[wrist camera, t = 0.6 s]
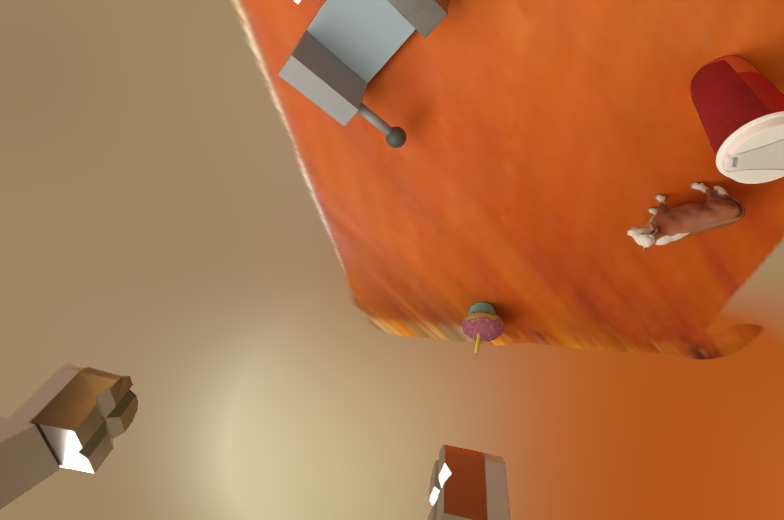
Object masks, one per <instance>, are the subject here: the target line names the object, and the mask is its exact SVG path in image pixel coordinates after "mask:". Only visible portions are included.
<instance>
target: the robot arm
mask: <svg viewBox="0 0 784 520" xmlns="http://www.w3.org/2000/svg"><path fill="white" fill-rule="evenodd" d="M132 385H133V384H132V381H131V378H130V376H126V375H121V374H116V373H112V372H108V371H102V370H98V369H94V368H90V367H87V366H81V365H77V364H72V363H67V364H65V365H63V366H61V367H60V368H59V369H57V370H56V371H55V372H54V373H53V374H52V375H51V376H50V377H49V378H48V379H47V380H46V381H45V382H44V383H43V384H42V385H41V386H40V387H39V388H38V389H37V390H36V391H35V392H34V393H33V394H32V395H31V396H30V397H29V398H28V399H27V400H26V401H25V402H24V403H23V404H22V405H20V406H19V408H17V409H16V410H15V411H14V412H13V413H12V414H11V415H10V416H9V417H8V418H6V417H0V509H1V508H3V507H4V506H6V505H7V504H9V503H10V502H12V501H13V500H15V499H16V498H18V497H19V496H21V495H22V494H24V493H25V492H27V491H28V490H30V489H31V488H33V487H34V486H36V485H37V484H39V483H40V482H41V481H43V480H45V479H46V478H48V477H49V476H51V475H52V474H54V473H55V472H57V471H58V470H59V469H60V467H64V468H69V469H74V470H80V471H86V472H90V473H95V472H96V471H97V469H98V468H99V467H100V465H101V464H102V462H103V461H104V460H105V459H106V457H107V456H108V454H109V453H110V452H111V450H112V449H113V438H115V437H117V436H119V435H120V434H122V433H124V432H125V431H126V430H127V428H128V427H129V426H130V424H131V422H132V421H133V419H134V416H135V414H136V412H137V407H138V400H137V396H136V395H135V394H134V393H133V392H132V391H131V390H130V388H131V386H132ZM429 500H430V502H431V504H432V506H433V507H432V509H431V512H430V514H429V517H428V520H510V510H509V500H508V490H507V479H506V469H505V462H504V460H503V458H502V457H500V456H495V455H491V454H486V453H482V452H478V451H473V450H468V449H463V448H458V447H453V446H448V445H443V446H442V447H441V450H440V455H439V460H437V461H436V462H435V464H434V467H433V471H432V475H431V481H430V490H429Z"/></svg>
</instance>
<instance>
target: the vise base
mask: <svg viewBox="0 0 784 520" xmlns="http://www.w3.org/2000/svg"><path fill="white" fill-rule="evenodd" d="M414 31H415V28H414V27H413V26H412V25H411V24H410V23H409V22H408V21H407V20H406V19H405V18H404V17H403V16H402V15H401V14H400V13H399V12H398V11H397V10H396V9H395V8H394V7H393V6H392V5H391V4H390V3H389V2H388V1H387V0H326V1H325V3H324V4H323V6H322V7H321V9H320V10H319V12H318V13H317V15H316V16H315V18H314V19H313V21H312V22H311V24H310V25H309V27H308V28H307V30H306V31H305V33H304V34H303V36H302V37H301V39H300V40H299V42H298V43H297V45H296V46H295V48H294V50H293V51H292V53H291V55H290V56H289V58H288V59H287V61H286V63H285V64H284V66H283V68H282V69H281V71H280V73H279V74H278V75H279V76H280V77H281V78H283V79H284V80H285V81H287V82H288V83H289V84H290V85H292V86H293V87H294V88H296V89H297V90H298V91H299V92H301V93H302V94H303V95H305V96H306V97H307V98H308V99H310V100H311V101H312V102H314V103H315V104H316V105H317V106H319V107H320V108H321V109H323V110H324V111H325V112H326V113H328V114H329V115H330V116H332V117H333V118H334V119H335V120H337V121H338V122H339V123H341V124H342V125H343V126H345V124H346V123H347V122H348V121H349V120H350V119H351V118H352V117H353V116H354V115H355V114H356V112H358V113H359V114H360V115H362V116H363V117H364V118H365V119H367V120H368V121H369V122H370V123H371V124H373V125H374V126H375V127H376V128H378V129H379V130H380V131H381V132H383V133H384V134H385V135H386V141H387V143H388V144H389V145H390V146H391V147H394V148H398V147H401V146H402V145H403V144H404V143H405V141H406V133H405V131H404V130H403V129H402V128H400V127H391V126H389V125H388V124H387V123H386V122H385V121H383V120H382V119H381V118H380V117H378V116H377V115H376V114H375V113H374V112H372V111H371V110H370V109H369V108H368V107H366V106H365V105H364V104H363V103H362V99H363V96H364V93H365V90H366V87H367V84H368V82H369V81H370V80H371V79H372V78H373V77H374V76H375V75H376V73H377V72H378V71H379V70H380V69H381V68H382V67H383V66H384V64H385V63H386V62H387V61H388V60H389V59H390V58H391V56H392V55H393V54H394V53H395V52H396V51H397V50H398V49H399V47H400V46H401V45H402V44H403V43H404V42H405V41H406V40H407V38H408V37H409V36H410V35H411V34H412V33H413V32H414Z"/></svg>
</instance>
